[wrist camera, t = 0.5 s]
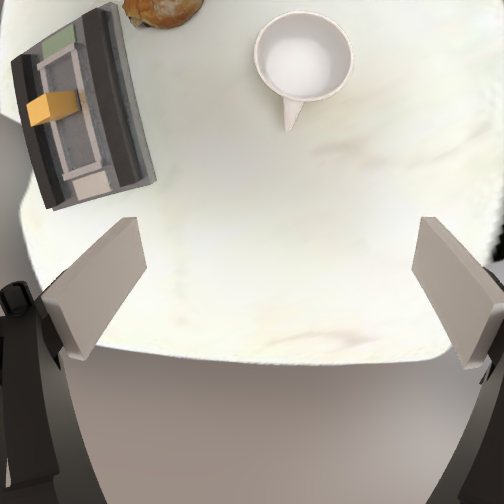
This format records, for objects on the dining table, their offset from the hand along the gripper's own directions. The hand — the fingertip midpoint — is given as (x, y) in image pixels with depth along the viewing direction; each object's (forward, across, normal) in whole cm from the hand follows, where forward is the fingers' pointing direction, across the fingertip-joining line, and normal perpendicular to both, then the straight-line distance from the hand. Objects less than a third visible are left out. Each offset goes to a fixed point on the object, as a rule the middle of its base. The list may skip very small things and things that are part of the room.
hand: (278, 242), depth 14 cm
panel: (+26, -28, +8) cm, 39 cm away
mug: (+27, +2, +8) cm, 28 cm away
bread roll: (+27, -13, +21) cm, 37 cm away
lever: (+24, -28, +9) cm, 38 cm away
